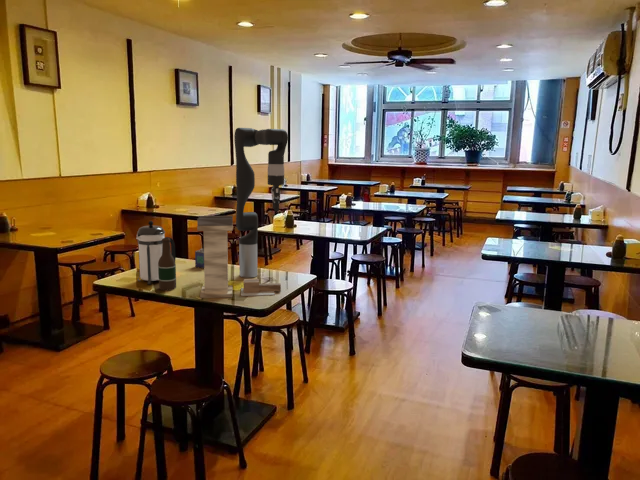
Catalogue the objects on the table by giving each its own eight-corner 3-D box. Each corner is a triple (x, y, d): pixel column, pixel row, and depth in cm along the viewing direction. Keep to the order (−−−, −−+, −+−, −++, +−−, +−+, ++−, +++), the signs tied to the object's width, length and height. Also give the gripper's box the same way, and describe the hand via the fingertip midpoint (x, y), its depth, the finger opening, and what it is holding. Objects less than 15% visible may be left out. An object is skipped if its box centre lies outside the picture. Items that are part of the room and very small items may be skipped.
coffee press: (165, 285, 237) (163, 223, 231) (132, 284, 237) (129, 222, 232) (176, 276, 254) (174, 218, 248) (145, 275, 254) (143, 217, 249)
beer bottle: (155, 289, 231) (153, 238, 226) (167, 285, 237) (165, 236, 233) (167, 291, 227) (165, 240, 223) (179, 287, 234) (178, 237, 229)
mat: (241, 289, 233) (241, 288, 233) (272, 288, 236) (272, 287, 236) (241, 296, 223) (241, 295, 223) (274, 295, 225) (274, 294, 225)
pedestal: (201, 289, 232) (199, 215, 225) (233, 288, 234) (232, 215, 228) (198, 298, 218) (196, 219, 212) (233, 297, 221) (232, 219, 214)
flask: (210, 268, 272) (209, 249, 270) (206, 269, 270) (206, 249, 268) (197, 266, 277) (196, 247, 275) (193, 267, 274) (193, 248, 272)
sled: (243, 289, 232) (243, 278, 231) (280, 288, 234) (280, 278, 233) (243, 292, 226) (243, 282, 225) (280, 292, 229) (280, 281, 228)
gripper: (266, 173, 229) (266, 208, 232) (268, 175, 215) (268, 212, 218) (282, 173, 230) (282, 208, 233) (285, 175, 216) (285, 212, 219)
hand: (275, 209), depth 226 cm, fingers open, 8 cm apart
